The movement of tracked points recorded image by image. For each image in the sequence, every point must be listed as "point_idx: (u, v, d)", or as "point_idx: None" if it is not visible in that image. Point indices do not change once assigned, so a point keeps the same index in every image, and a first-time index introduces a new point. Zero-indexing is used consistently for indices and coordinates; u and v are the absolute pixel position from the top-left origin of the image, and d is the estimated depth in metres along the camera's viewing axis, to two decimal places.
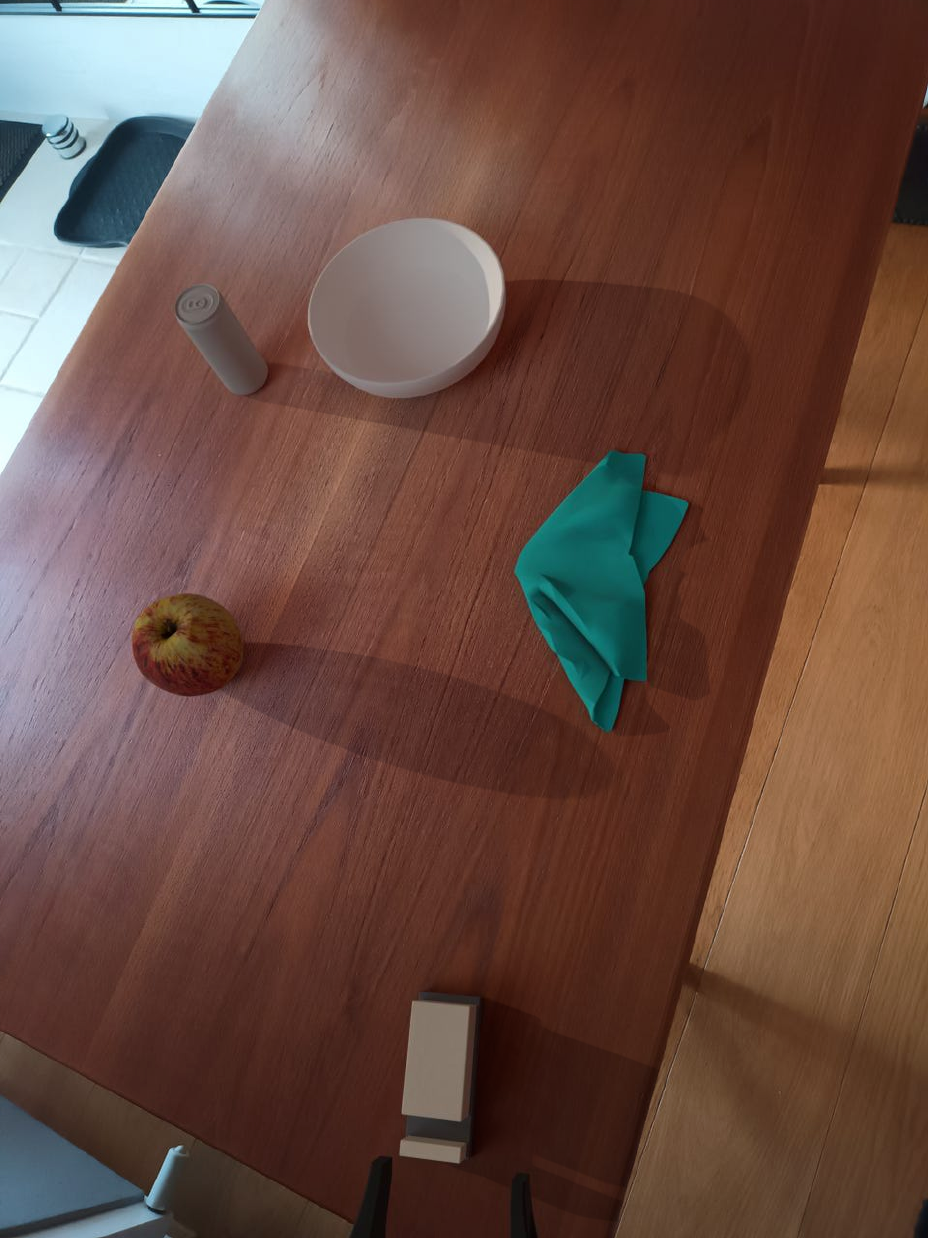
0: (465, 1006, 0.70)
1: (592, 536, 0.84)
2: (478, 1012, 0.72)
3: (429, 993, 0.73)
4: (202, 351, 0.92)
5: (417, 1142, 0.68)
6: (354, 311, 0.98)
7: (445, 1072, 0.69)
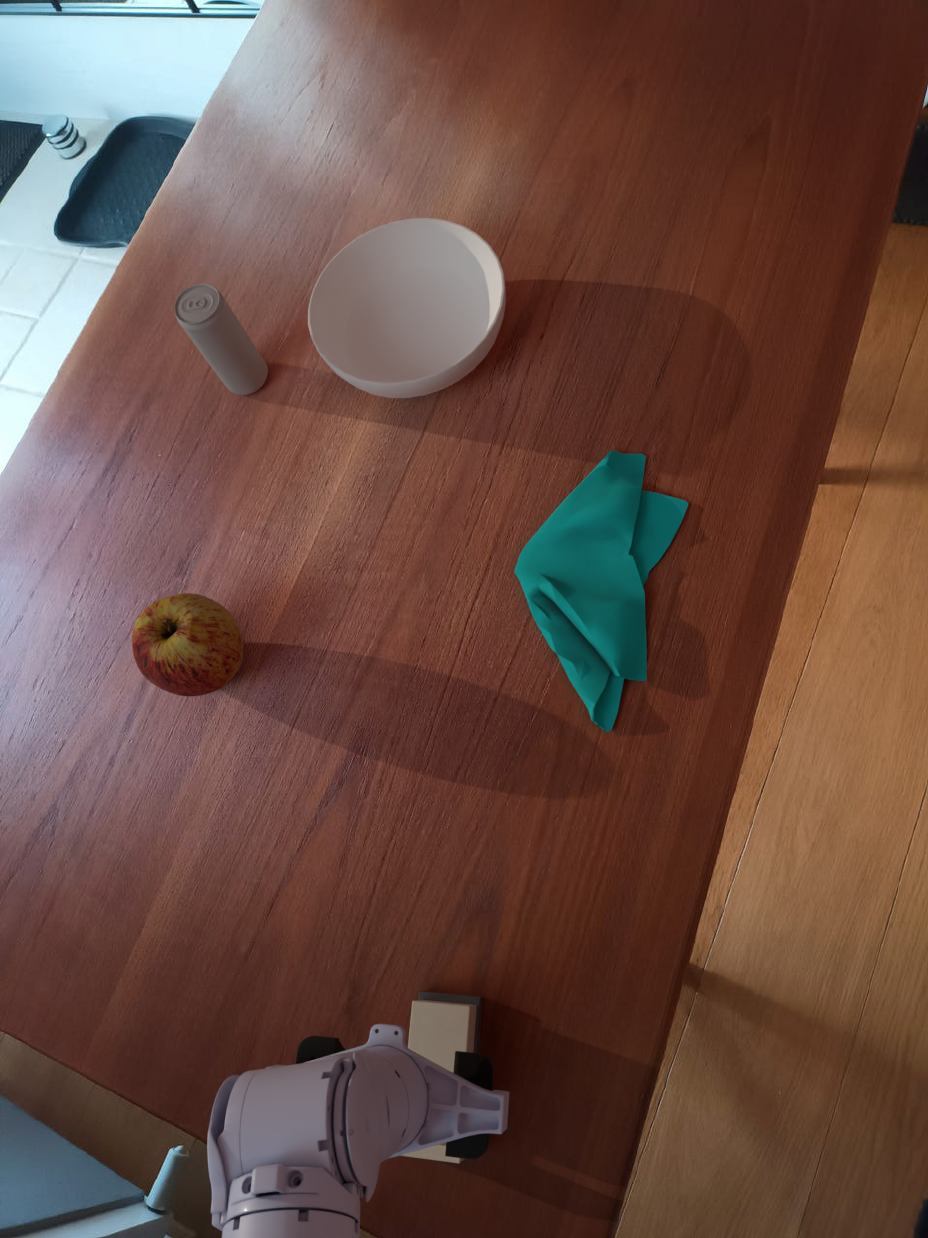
0: (465, 1006, 0.70)
1: (592, 536, 0.84)
2: (478, 1012, 0.72)
3: (429, 993, 0.73)
4: (202, 351, 0.92)
5: None
6: (354, 311, 0.98)
7: None
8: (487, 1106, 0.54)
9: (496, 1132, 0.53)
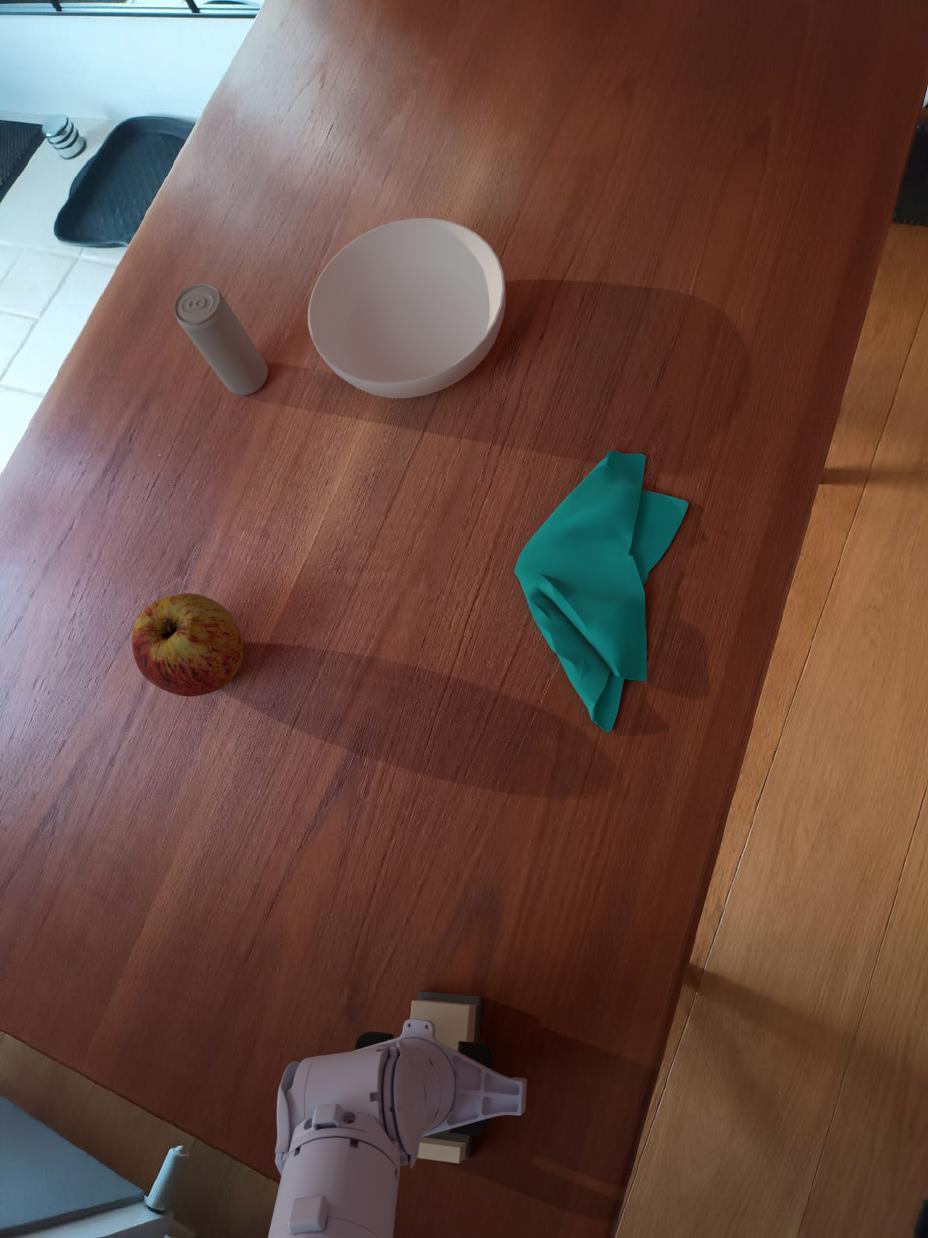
0: (465, 1006, 0.70)
1: (592, 536, 0.84)
2: (478, 1012, 0.72)
3: (429, 993, 0.73)
4: (202, 351, 0.92)
5: None
6: (354, 311, 0.98)
7: None
8: (508, 1091, 0.62)
9: (516, 1114, 0.61)
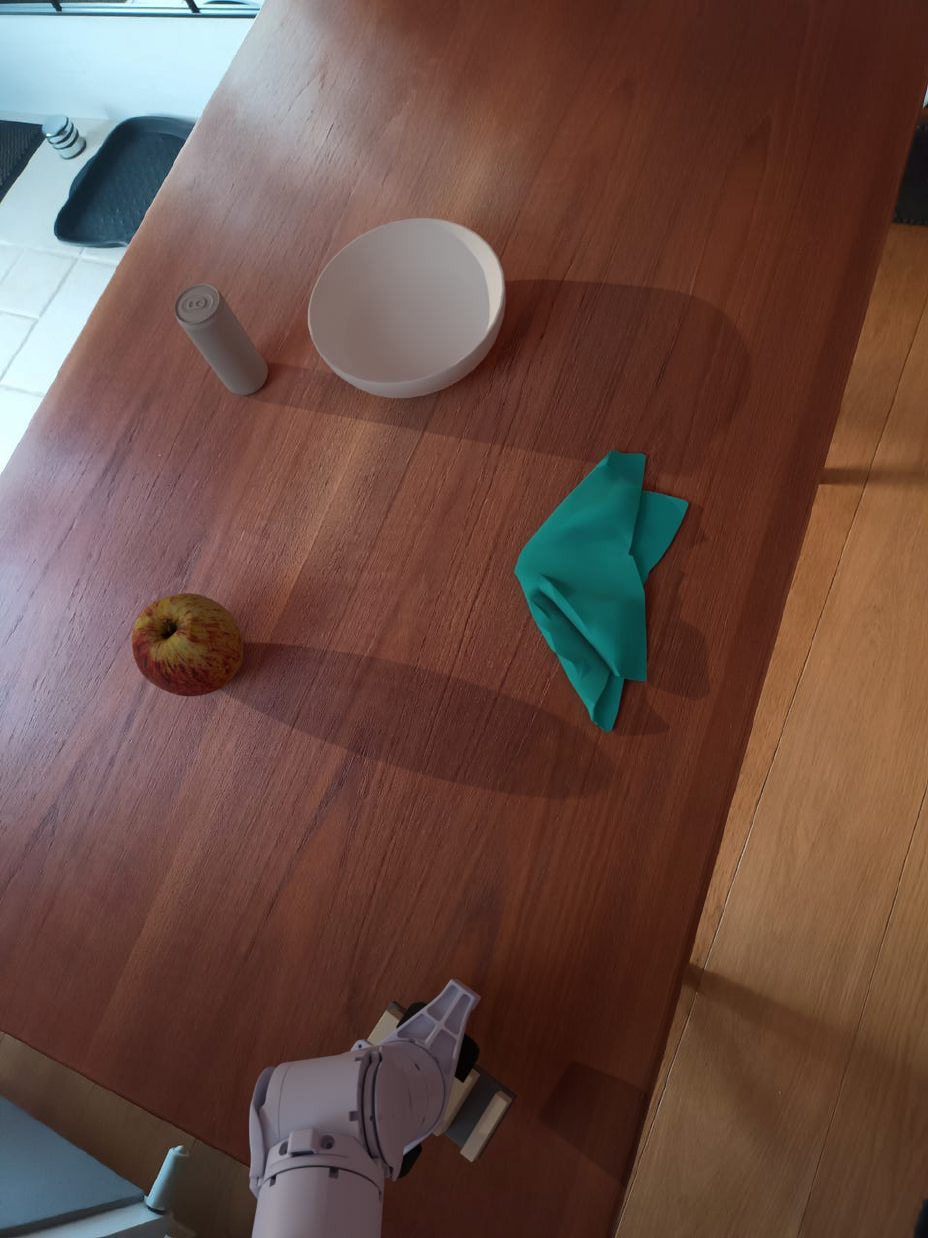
0: (384, 1014, 0.68)
1: (592, 536, 0.84)
2: (402, 1011, 0.70)
3: None
4: (202, 351, 0.92)
5: (470, 1136, 0.64)
6: (354, 311, 0.98)
7: None
8: (452, 999, 0.61)
9: (472, 1001, 0.60)
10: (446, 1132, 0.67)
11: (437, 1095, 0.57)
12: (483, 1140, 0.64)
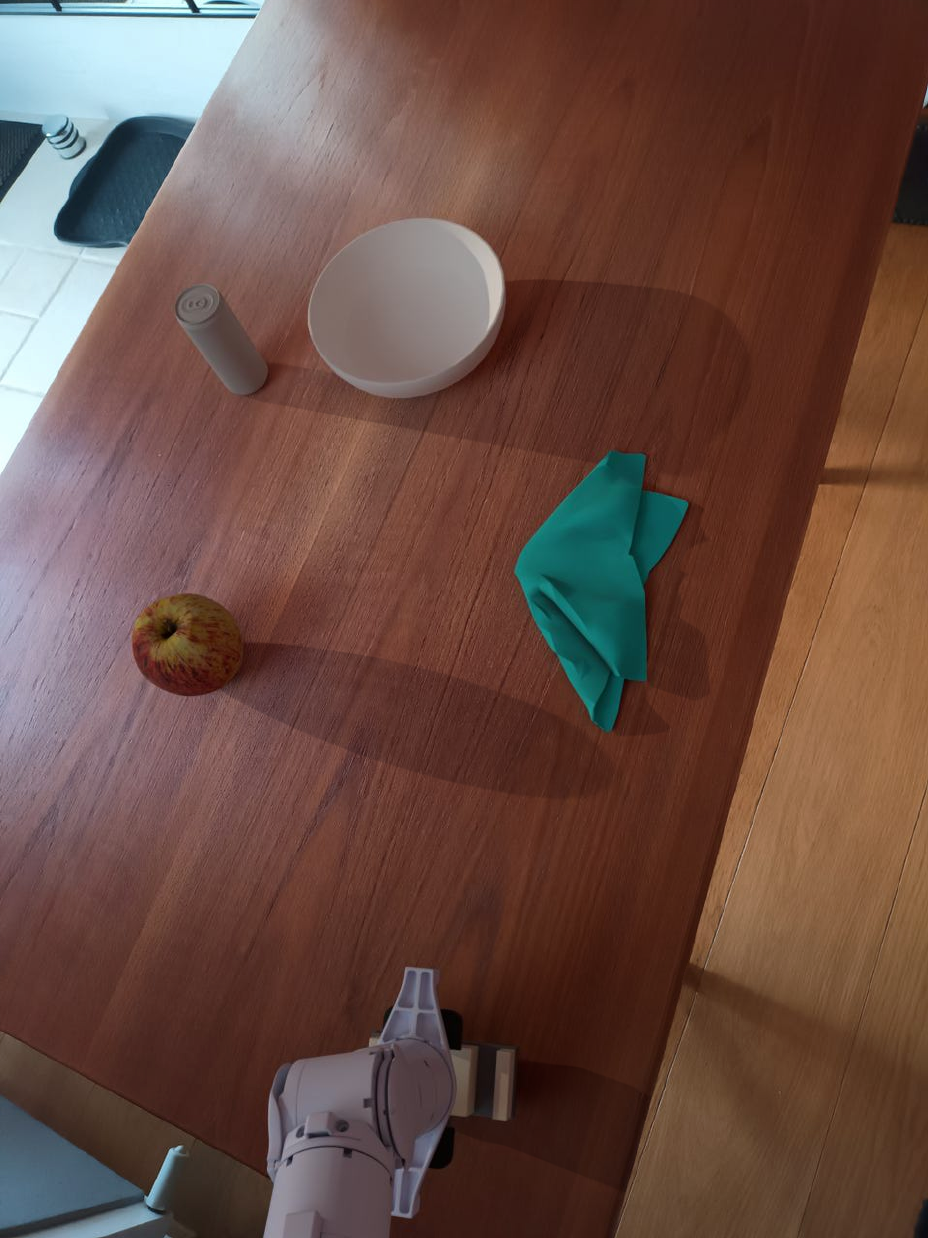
0: (369, 1043, 0.69)
1: (592, 536, 0.84)
2: None
3: None
4: (202, 351, 0.92)
5: (493, 1100, 0.67)
6: (354, 311, 0.98)
7: None
8: (415, 983, 0.64)
9: (432, 974, 0.64)
10: (474, 1113, 0.69)
11: (439, 1066, 0.60)
12: (506, 1096, 0.67)
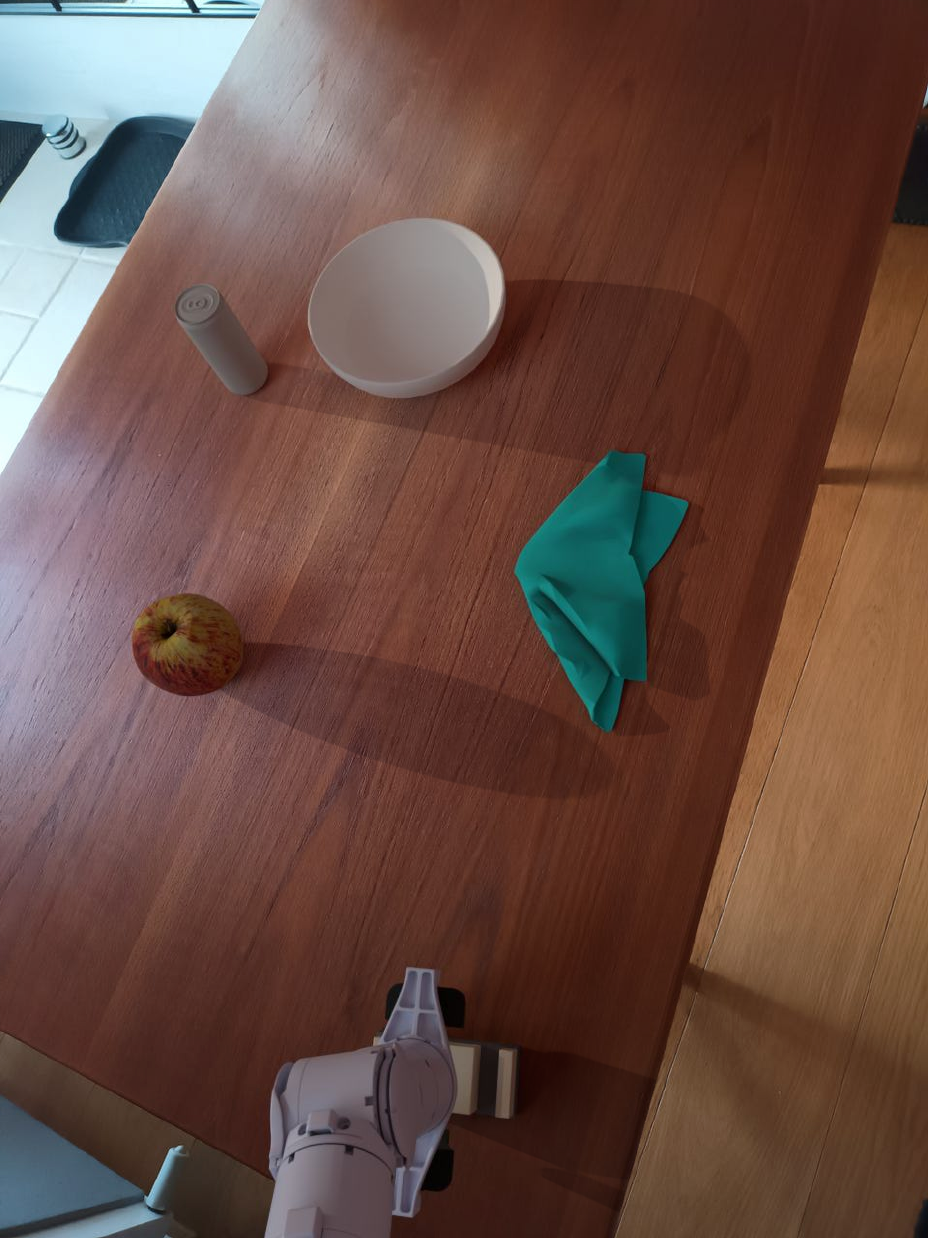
0: (374, 1042, 0.70)
1: (592, 536, 0.84)
2: None
3: None
4: (202, 351, 0.92)
5: (496, 1098, 0.68)
6: (354, 311, 0.98)
7: None
8: (416, 983, 0.64)
9: (433, 974, 0.64)
10: (477, 1111, 0.70)
11: (440, 1066, 0.60)
12: (509, 1094, 0.68)
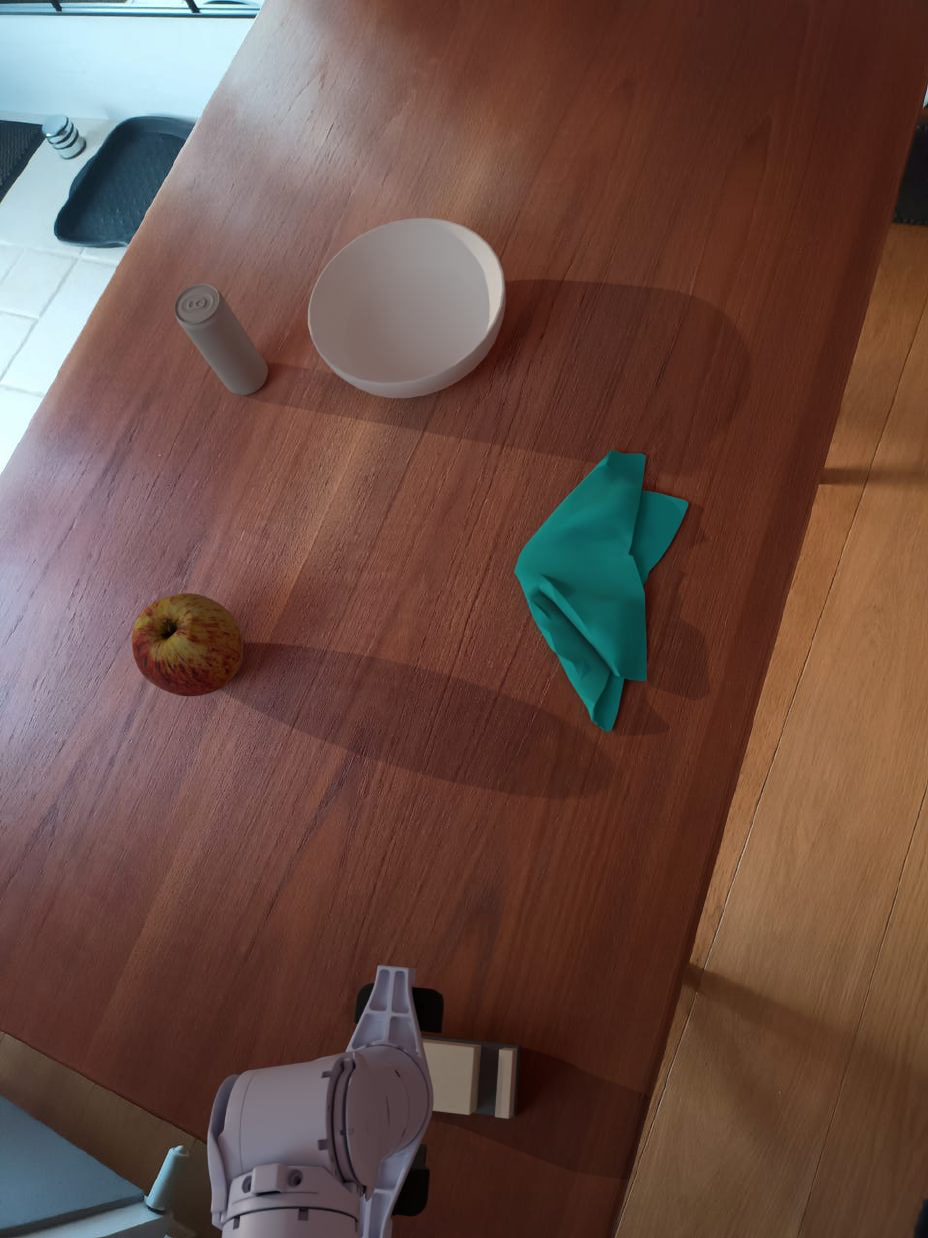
0: None
1: (592, 536, 0.84)
2: None
3: None
4: (202, 351, 0.92)
5: (496, 1098, 0.68)
6: (354, 311, 0.98)
7: (431, 1065, 0.69)
8: (388, 983, 0.58)
9: (407, 973, 0.57)
10: (477, 1111, 0.70)
11: (414, 1076, 0.54)
12: (508, 1094, 0.68)
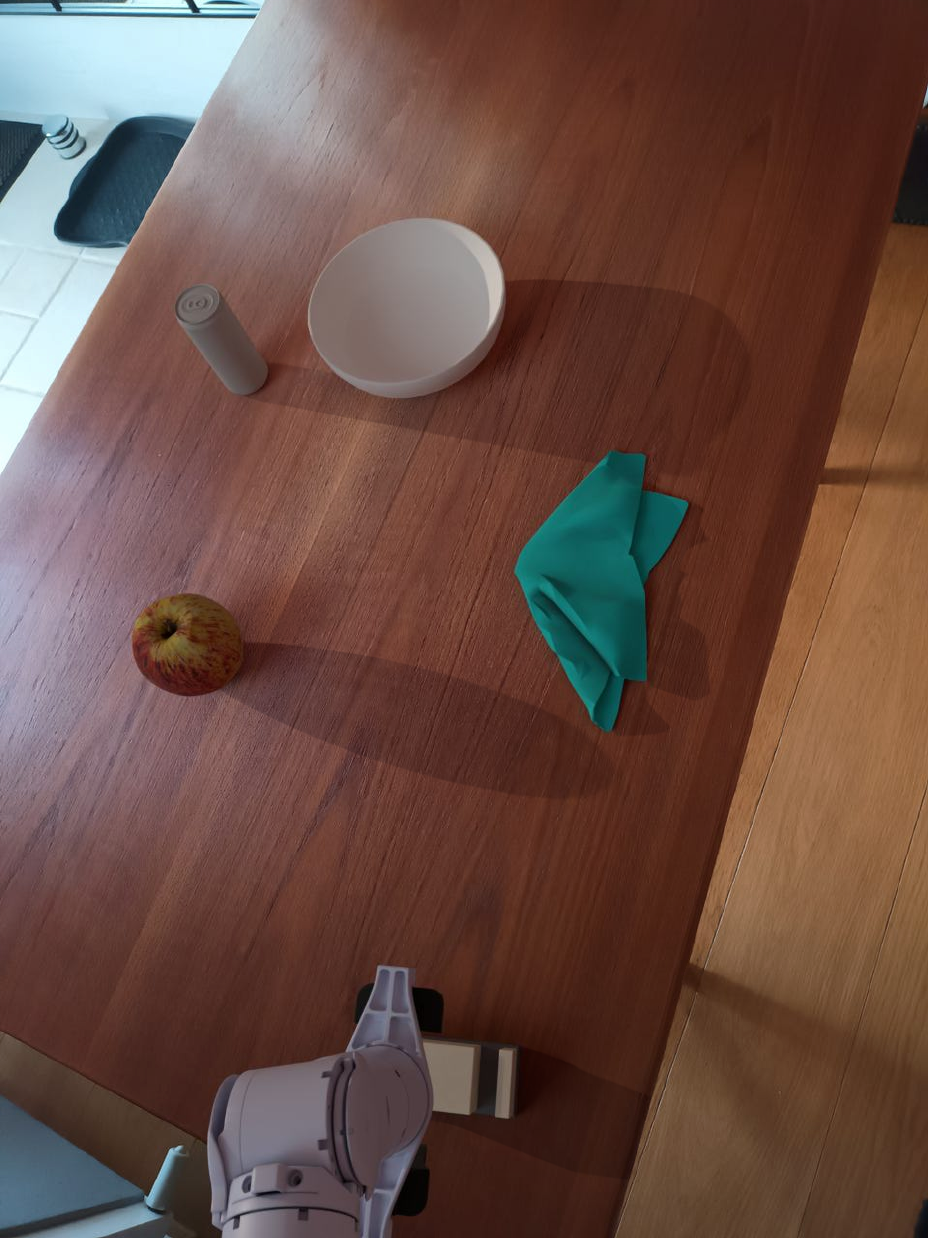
0: None
1: (592, 536, 0.84)
2: None
3: None
4: (202, 351, 0.92)
5: (496, 1098, 0.68)
6: (354, 311, 0.98)
7: (431, 1065, 0.69)
8: (388, 983, 0.58)
9: (407, 973, 0.57)
10: (477, 1111, 0.70)
11: (414, 1076, 0.54)
12: (509, 1094, 0.68)
